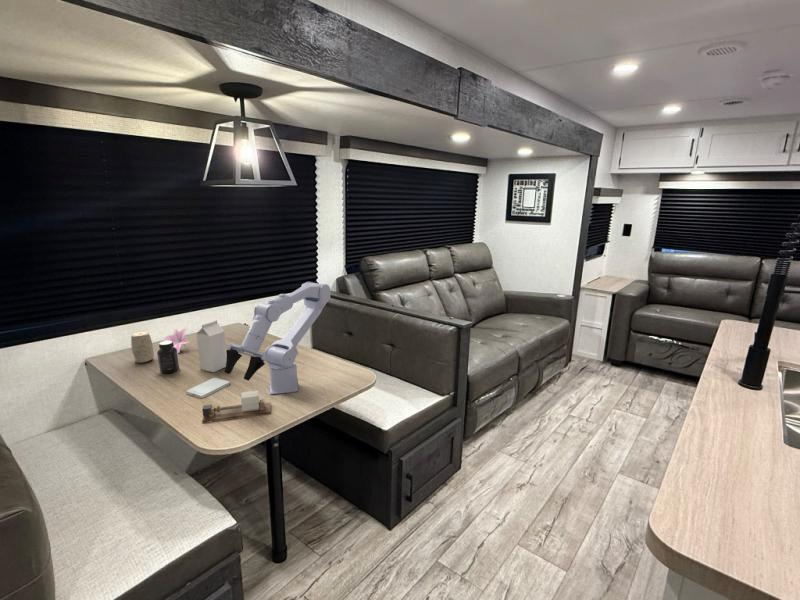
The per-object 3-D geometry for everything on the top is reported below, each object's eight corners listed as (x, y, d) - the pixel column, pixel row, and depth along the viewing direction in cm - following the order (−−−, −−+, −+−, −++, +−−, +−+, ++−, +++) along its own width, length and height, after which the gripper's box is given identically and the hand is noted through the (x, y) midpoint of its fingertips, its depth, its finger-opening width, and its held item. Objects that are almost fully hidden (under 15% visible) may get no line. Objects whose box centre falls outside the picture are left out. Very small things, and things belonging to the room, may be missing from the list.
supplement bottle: (160, 369, 164) (156, 340, 161) (179, 366, 167) (176, 338, 164) (159, 376, 158) (155, 346, 155) (179, 373, 161) (176, 343, 158)
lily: (164, 349, 187) (155, 335, 181) (189, 334, 193) (181, 320, 186) (176, 364, 181) (167, 350, 174) (201, 348, 187) (193, 334, 180)
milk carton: (227, 366, 168) (223, 321, 163) (213, 372, 162) (208, 326, 157) (214, 363, 171) (210, 318, 166) (200, 369, 165) (195, 323, 160)
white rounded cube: (259, 404, 136) (258, 390, 135) (259, 410, 133) (257, 396, 131) (242, 406, 135) (241, 392, 133) (242, 412, 131) (241, 398, 130)
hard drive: (213, 377, 156) (184, 390, 145) (230, 381, 152) (201, 395, 141) (214, 381, 156) (185, 394, 145) (230, 385, 153) (202, 400, 142)
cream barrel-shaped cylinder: (132, 360, 172) (128, 333, 169) (153, 356, 176) (149, 329, 173) (135, 365, 167) (130, 337, 164) (156, 361, 172) (152, 333, 169)
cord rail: (270, 404, 138) (269, 394, 138) (270, 413, 133) (270, 403, 132) (204, 413, 132) (203, 402, 132) (202, 422, 127) (201, 412, 126)
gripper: (230, 327, 134) (210, 366, 130) (267, 338, 130) (248, 379, 125) (242, 335, 141) (224, 372, 136) (278, 345, 136) (260, 385, 131)
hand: (236, 376), depth 131 cm, fingers open, 7 cm apart
